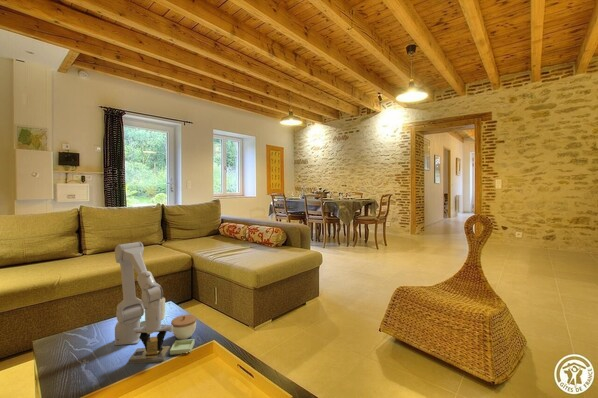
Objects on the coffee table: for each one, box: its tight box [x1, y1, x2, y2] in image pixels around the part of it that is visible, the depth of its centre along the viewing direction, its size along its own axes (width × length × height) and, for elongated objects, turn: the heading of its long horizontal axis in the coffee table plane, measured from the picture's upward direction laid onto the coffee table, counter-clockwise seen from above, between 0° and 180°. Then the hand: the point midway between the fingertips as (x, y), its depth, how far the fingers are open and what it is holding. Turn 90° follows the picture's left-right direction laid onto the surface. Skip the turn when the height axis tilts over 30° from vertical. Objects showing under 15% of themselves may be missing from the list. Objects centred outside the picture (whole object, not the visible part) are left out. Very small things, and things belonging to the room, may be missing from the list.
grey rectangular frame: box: [128, 345, 171, 364], centre depth 118 cm, size 13×8×2 cm, turn 97°
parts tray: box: [169, 338, 195, 356], centre depth 123 cm, size 8×8×2 cm
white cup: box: [160, 297, 166, 321], centre depth 152 cm, size 8×8×10 cm
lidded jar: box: [170, 314, 197, 340], centre depth 134 cm, size 11×11×9 cm
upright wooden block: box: [147, 336, 161, 356], centre depth 118 cm, size 4×4×7 cm
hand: (154, 349), depth 118 cm, fingers closed on upright wooden block, 4 cm apart
